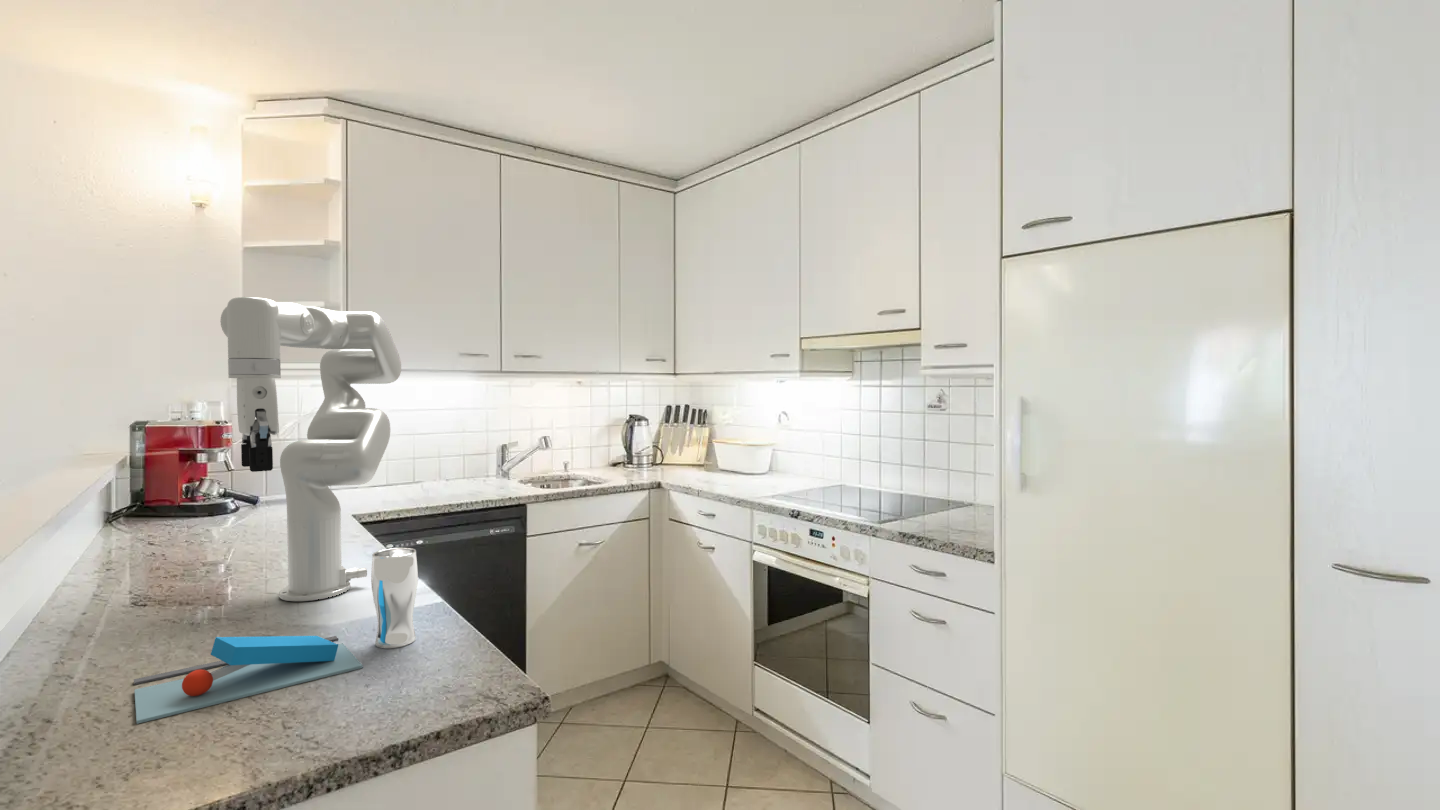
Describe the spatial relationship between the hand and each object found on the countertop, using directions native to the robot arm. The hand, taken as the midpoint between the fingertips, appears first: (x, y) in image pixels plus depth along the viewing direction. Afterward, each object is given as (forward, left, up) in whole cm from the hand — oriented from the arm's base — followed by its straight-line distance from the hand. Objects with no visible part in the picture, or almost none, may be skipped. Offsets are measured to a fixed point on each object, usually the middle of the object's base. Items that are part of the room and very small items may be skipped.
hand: (256, 468), depth 119 cm
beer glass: (-16, +22, -28) cm, 39 cm away
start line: (+4, +14, -28) cm, 32 cm away
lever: (+3, +24, -28) cm, 37 cm away
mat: (+4, +24, -28) cm, 37 cm away
